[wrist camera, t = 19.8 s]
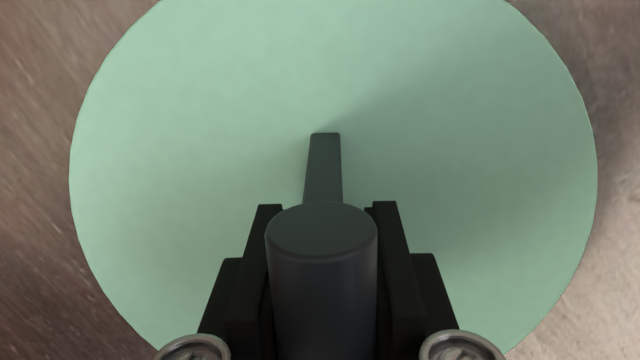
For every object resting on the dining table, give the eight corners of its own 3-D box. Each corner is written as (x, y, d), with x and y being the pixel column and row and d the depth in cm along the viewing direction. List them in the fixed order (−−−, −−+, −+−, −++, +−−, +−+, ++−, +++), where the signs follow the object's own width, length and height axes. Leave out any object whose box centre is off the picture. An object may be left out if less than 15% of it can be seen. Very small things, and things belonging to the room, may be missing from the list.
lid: (632, -70, 10) (1074, -117, 4) (533, 377, 16) (653, 626, 10) (22, -40, 10) (-380, -41, 5) (146, 381, 16) (41, 619, 10)
